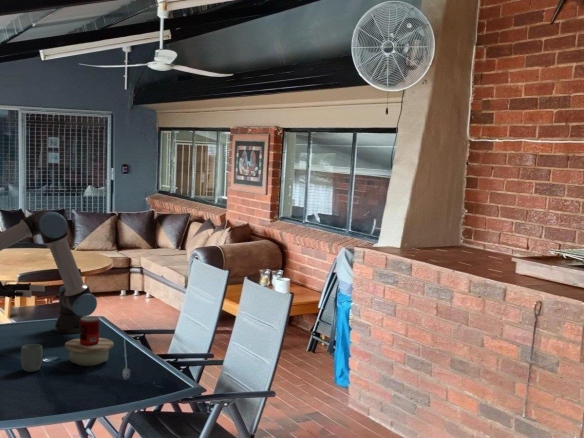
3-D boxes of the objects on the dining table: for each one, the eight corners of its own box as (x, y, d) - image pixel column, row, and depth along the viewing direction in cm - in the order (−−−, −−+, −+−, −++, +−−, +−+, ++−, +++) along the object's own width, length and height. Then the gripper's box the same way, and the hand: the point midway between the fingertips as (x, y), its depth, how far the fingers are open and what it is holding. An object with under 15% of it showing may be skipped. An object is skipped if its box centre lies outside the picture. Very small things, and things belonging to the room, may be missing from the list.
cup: (34, 374, 265) (35, 349, 265) (17, 372, 267) (17, 347, 266) (45, 368, 273) (46, 345, 272) (28, 366, 274) (29, 343, 274)
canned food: (101, 341, 288) (102, 316, 287) (94, 346, 280) (94, 320, 279) (84, 340, 289) (85, 315, 288) (76, 345, 281) (77, 319, 280)
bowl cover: (75, 338, 295) (75, 336, 295) (119, 341, 294) (119, 339, 294) (57, 350, 275) (57, 348, 275) (104, 354, 274) (104, 351, 274)
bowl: (77, 355, 293) (78, 340, 293) (113, 358, 292) (113, 342, 292) (63, 366, 277) (63, 350, 277) (100, 368, 276) (101, 352, 276)
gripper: (3, 291, 304) (49, 294, 303) (-25, 302, 279) (25, 305, 279) (3, 275, 304) (49, 278, 303) (-25, 285, 279) (25, 288, 278)
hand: (37, 291), depth 291 cm, fingers open, 13 cm apart
